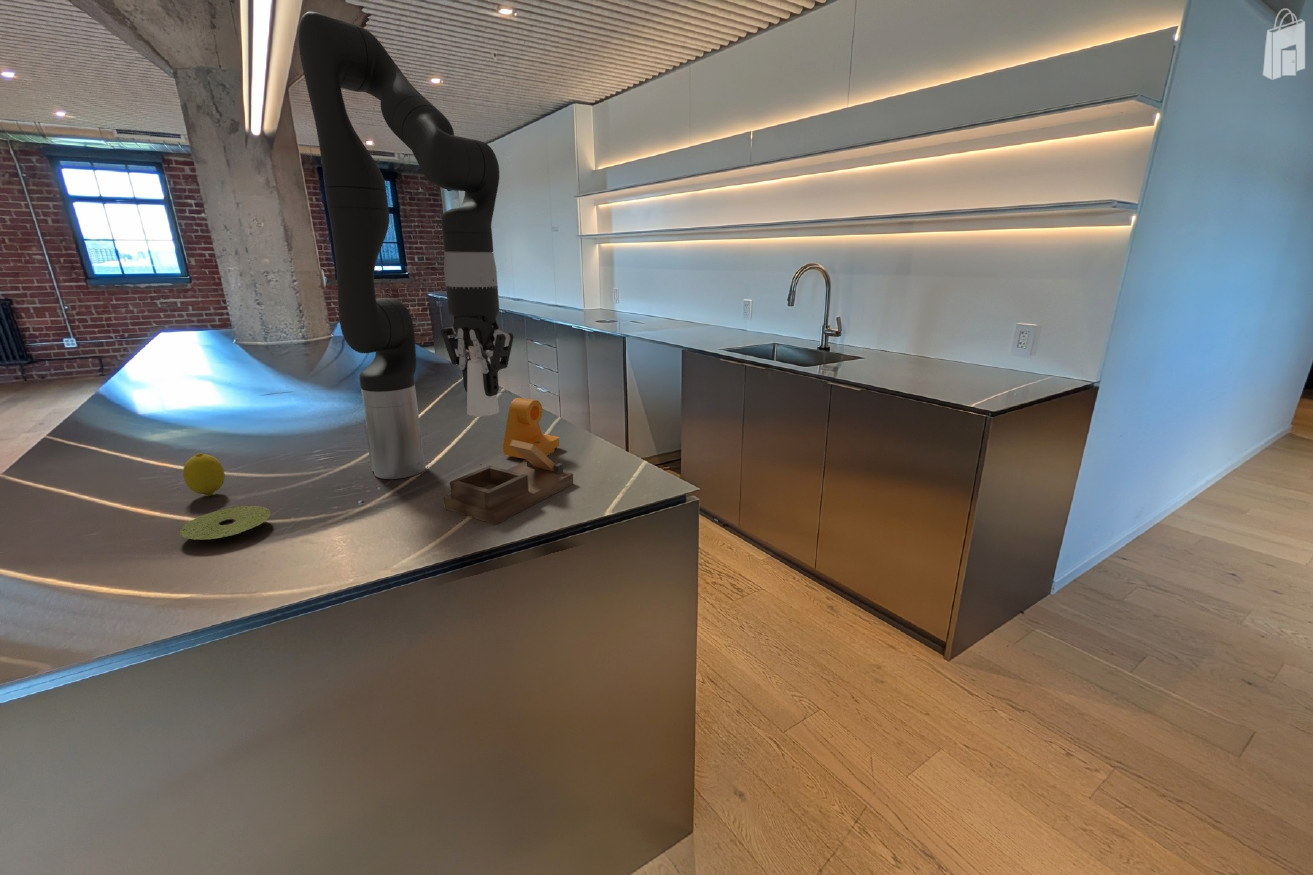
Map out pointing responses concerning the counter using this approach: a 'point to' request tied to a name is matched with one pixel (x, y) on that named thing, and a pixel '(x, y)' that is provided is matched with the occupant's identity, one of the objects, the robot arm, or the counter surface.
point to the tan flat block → (533, 455)
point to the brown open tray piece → (504, 490)
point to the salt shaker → (478, 389)
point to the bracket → (527, 427)
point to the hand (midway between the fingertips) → (481, 393)
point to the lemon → (203, 474)
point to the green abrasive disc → (225, 522)
